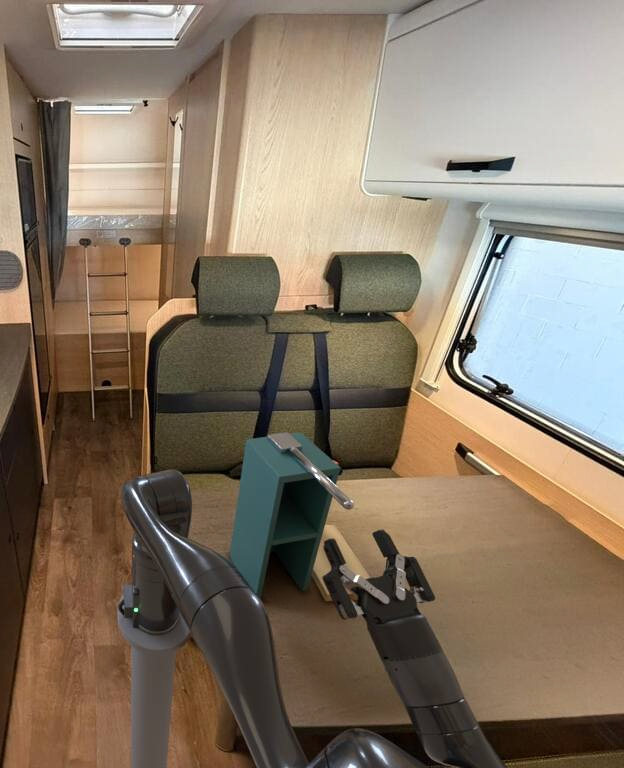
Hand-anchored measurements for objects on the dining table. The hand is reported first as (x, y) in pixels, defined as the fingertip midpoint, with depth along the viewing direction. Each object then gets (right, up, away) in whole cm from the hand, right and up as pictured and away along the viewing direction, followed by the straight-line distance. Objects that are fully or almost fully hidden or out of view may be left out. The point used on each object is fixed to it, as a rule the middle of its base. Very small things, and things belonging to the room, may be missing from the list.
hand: (353, 535), depth 65 cm
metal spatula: (-2, +8, +9) cm, 13 cm away
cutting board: (+12, -17, +30) cm, 37 cm away
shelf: (-3, -18, +28) cm, 34 cm away
